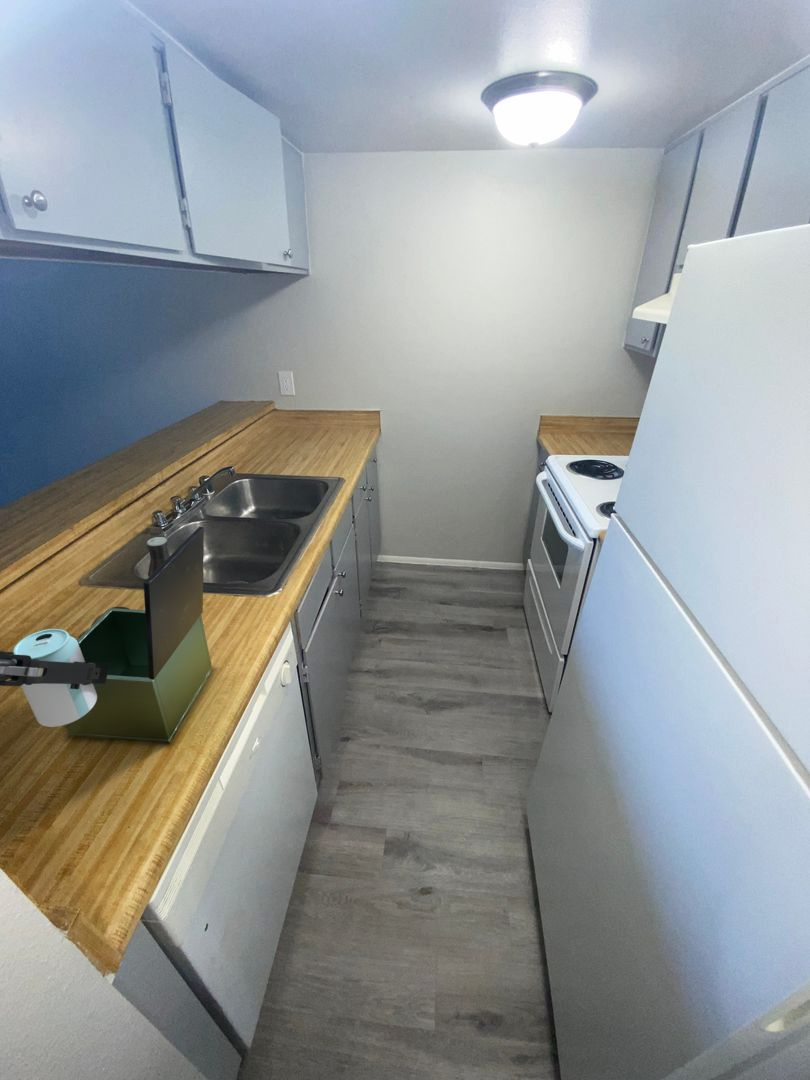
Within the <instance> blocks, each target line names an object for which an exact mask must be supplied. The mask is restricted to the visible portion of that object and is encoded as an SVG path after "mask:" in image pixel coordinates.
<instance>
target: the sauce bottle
mask: <svg viewBox="0 0 810 1080" xmlns="http://www.w3.org/2000/svg"><path fill="white" fill-rule="evenodd" d="M146 548H147V550H148V552H149V556H150V557H149V558H150V561H149V566H148V570H147V577H148V578H149V577H150V576H151V575H152V574H153V573H154V572H155V571H156V570H157V569H158V568H159V567H160V566H161V565H162V564H163V563H164V562H165V561H166V560H167V559H168V558H169V557H170V556H171V554H170V552H169V542H168V539H167V538H166V537H163V536H155V537H152V538H149V539H148V540H147V541H146Z"/></svg>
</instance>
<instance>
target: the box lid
mask: <svg viewBox="0 0 810 1080" xmlns="http://www.w3.org/2000/svg"><path fill="white" fill-rule="evenodd" d="M204 547H205V527H204V526H198V527H197V528H196V529H195V531H193V533H191V534H190V535H189V536H188V537H187V539H185V540H184V541H183V542H182V544H180V545H179V546H178V547H177V549H175V550H174V551H173V553H172V554H170V557H169V558H168V559H167V560H166V561H165V562H164V563H163V564H162V565H161V566H160V567H159V568H158V569H157V570H156V571H155V572H154V573H153V574H152V575H151V576H150V577H148V578H146V579H145V580H144V582H143V597H144V610H145V617H146V634H147V651H148V667H149V679H153V680H154V679H155V678H156V676H157V675H158V673H159V672H160V671H161V669H162V668H163V667H164V665H165V664H166V662H167V661H168V660H169V658H170V657H171V655H172V654H173V653H174V651H175V650H176V649H177V647H178V646H179V644H180V643H181V642H182V640H183V639H184V637H185V636H186V635H187V633H188V632H189V630H190V629H191V628H192V626H193V625H194V624H195V622H196V621H197V619H198V618H199V617H200V615H201V616H202V615H203V612H204V559H205V558H204V555H205V554H204V551H205V550H204V549H205V548H204Z"/></svg>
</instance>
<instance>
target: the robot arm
mask: <svg viewBox="0 0 810 1080" xmlns="http://www.w3.org/2000/svg"><path fill="white" fill-rule="evenodd" d="M12 659H16V660H17V662H15V661H14V660H12ZM109 666H110V664H104V663H88V662H74V663H70V662H54V661H39V660H38V659H33V660H32V659H31V657H30V656H29V655H17V654H14V653H13V651H6V650H5V651H4V650H0V687H21V685H23V684H25V685H31V684H71V687H70V689H79V686H80V684H83V685H87V684H105V682H106V678H107V674H108V670H109Z"/></svg>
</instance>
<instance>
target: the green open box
mask: <svg viewBox="0 0 810 1080" xmlns="http://www.w3.org/2000/svg"><path fill="white" fill-rule="evenodd" d="M108 609H109V610H108ZM108 609H107V610H108V611H107V612H106V613H105V614H104V615H103V616H102V617H101V618H100V619H99V620H98V621H97V622H95V623H94V624H93V625H92V624H91V625H92V626H89V628H88V630H87V629H86V630H87V631H86V630H85V631H86V632H85V633H84V634H83V635H82V636H81V637H80V638H79V639H78V638H77V639H76V640H77V642H78V644H79V647H80V650H81V653H82V655H83V658H84V661H85V662H88V663H104V664H110V666H109V670H108V674H107V678H106V682H105V684H93V685H94V688H95V691H96V694H97V701H96V703H95V705H94V706H93V708H92V709H91V710H90V711H89V712H88V713H87V714H85V715H84V716H83V717H81V718H80V719H78V720H76V721H74V722H72V723H69V724H66V725H64V727H65V729H66V732H67V735H68V736H69V737H74V738H86V739H99V740H100V739H102V740H114V741H115V740H116V741H127V742H128V741H129V742H141V743H157V744H167V745H170V744H171V743H172V741H173V739H174V737H175V736H176V734H177V733H178V731H179V729H180V727H181V726H182V724H183V723H184V721H185V719H186V717H187V715H188V713H189V712H190V710H191V709H192V706H193V705H194V703H195V702H196V700H197V698H198V696H200V693H201V692H202V690H203V688H204V686H205V685H206V683H207V681H208V679H209V678H210V676H211V675H212V672H213V670H214V669H213V665H212V660H211V656H210V651H209V646H208V641H207V635H206V631H205V626H204V622H203V616H202V614H201V615H200V617H199V618H198V619H197V621H196V622H195V624H194V625H193V626H192V628H191V629H190V630H189V632H188V633H187V635H186V636H185V637H184V639H183V640H182V642H181V643H180V644H179V646H178V647H177V649H176V650H175V651H174V653H173V654H172V655H171V657H170V658H169V660H168V661H167V662H166V664H165V665H164V667H163V668H162V669H161V671H160V672H159V673H158V675H157V676H156V678H155V679H154V680H153V679H149V667H148V651H147V634H146V617H145V609H133V608H129V609H119V608H112V607H110V608H108Z"/></svg>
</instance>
